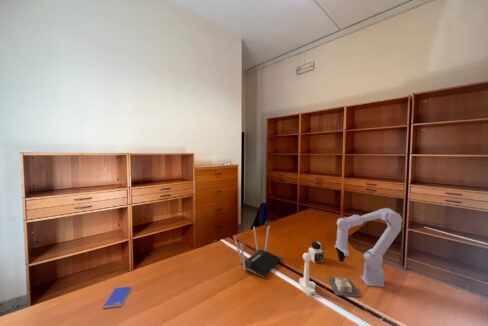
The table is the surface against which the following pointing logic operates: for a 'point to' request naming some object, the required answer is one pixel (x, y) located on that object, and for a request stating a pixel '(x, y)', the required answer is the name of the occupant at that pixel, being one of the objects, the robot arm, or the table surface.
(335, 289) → the mat
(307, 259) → the joystick
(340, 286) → the slab
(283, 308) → the table surface
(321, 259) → the medicine bottle
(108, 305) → the hard drive
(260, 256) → the wireless router
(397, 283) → the table surface
